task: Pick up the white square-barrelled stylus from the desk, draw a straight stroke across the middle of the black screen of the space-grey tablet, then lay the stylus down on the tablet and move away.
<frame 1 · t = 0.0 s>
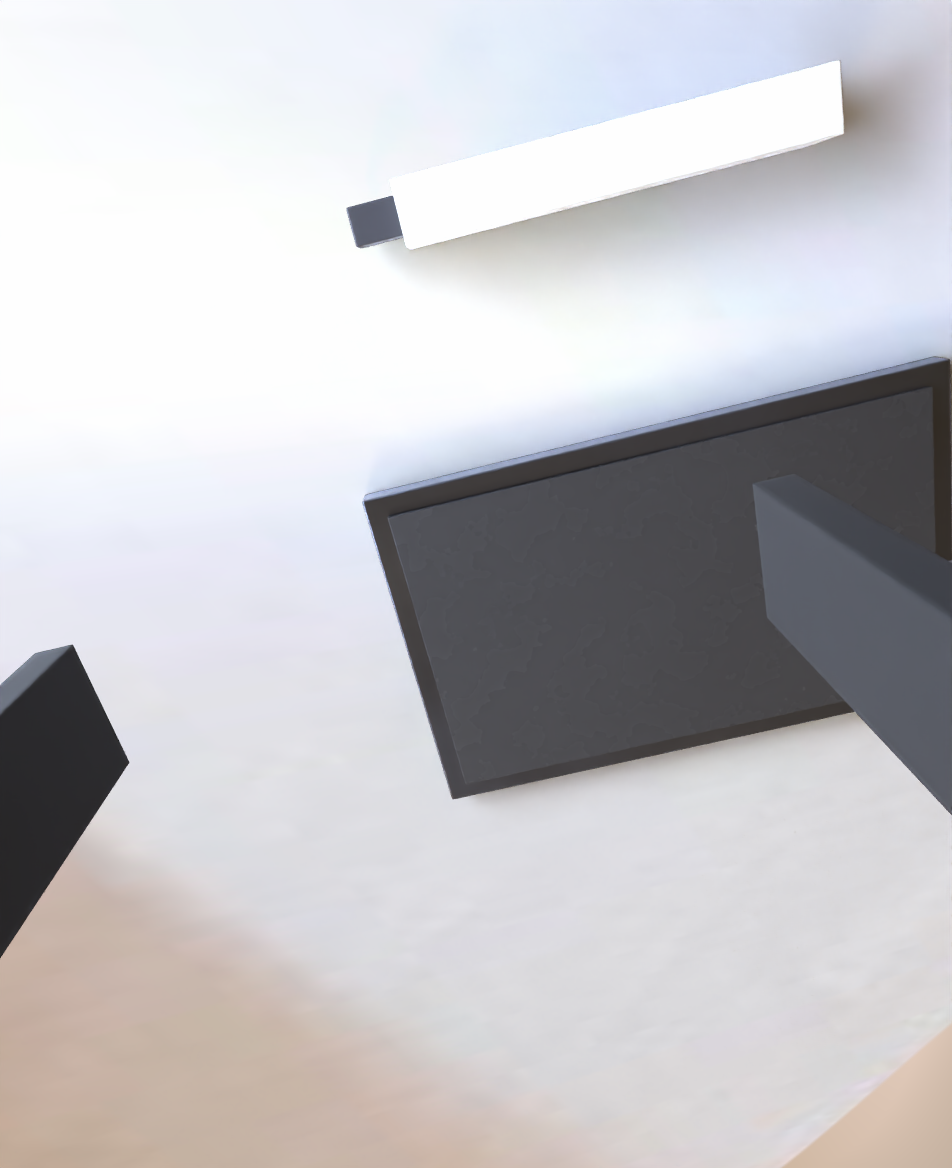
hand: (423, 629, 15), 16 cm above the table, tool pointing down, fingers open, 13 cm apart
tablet: (669, 592, 32), on the table
stylus: (602, 166, 26), on the table
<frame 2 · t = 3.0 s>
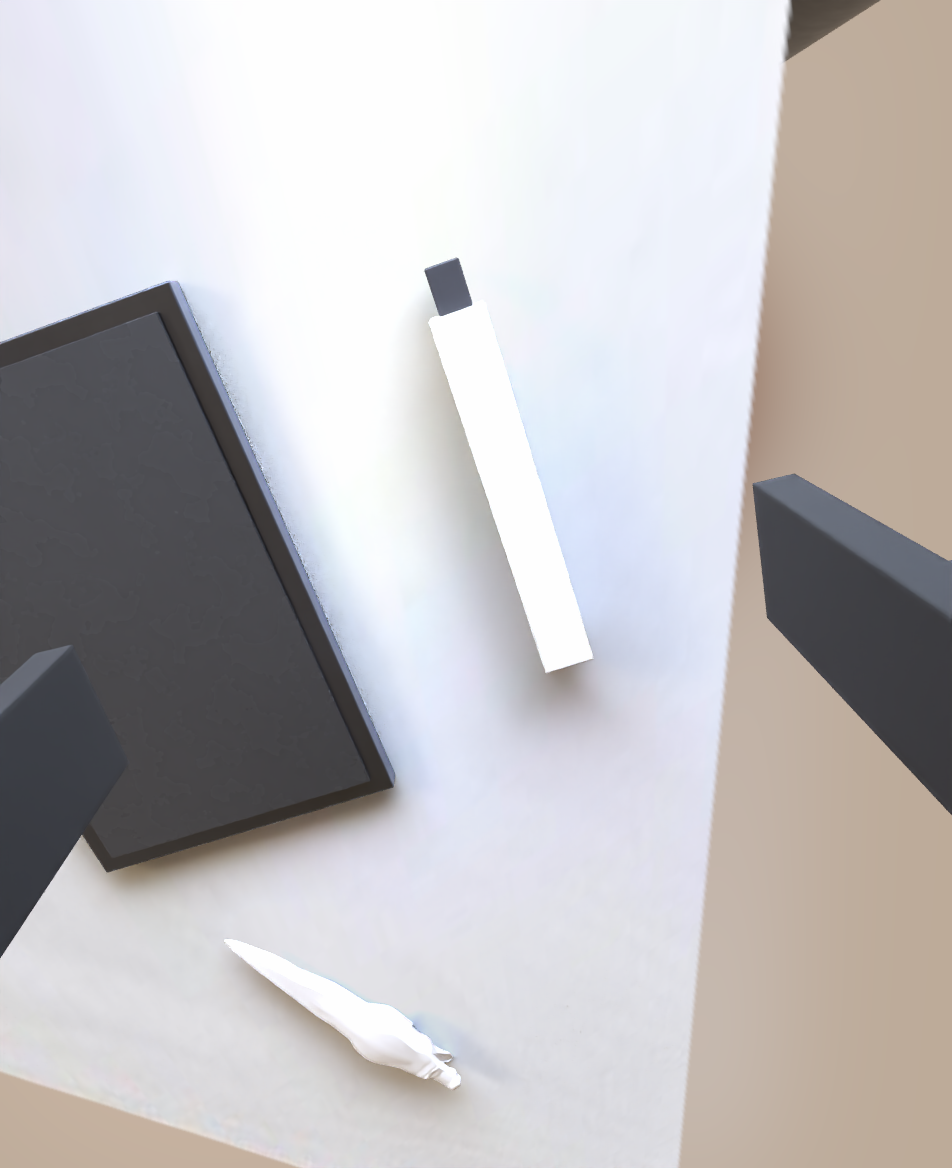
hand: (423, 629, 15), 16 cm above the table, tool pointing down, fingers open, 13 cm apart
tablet: (142, 610, 32), on the table
white tapered piece: (349, 993, 40), on the table
stylus: (513, 488, 31), on the table
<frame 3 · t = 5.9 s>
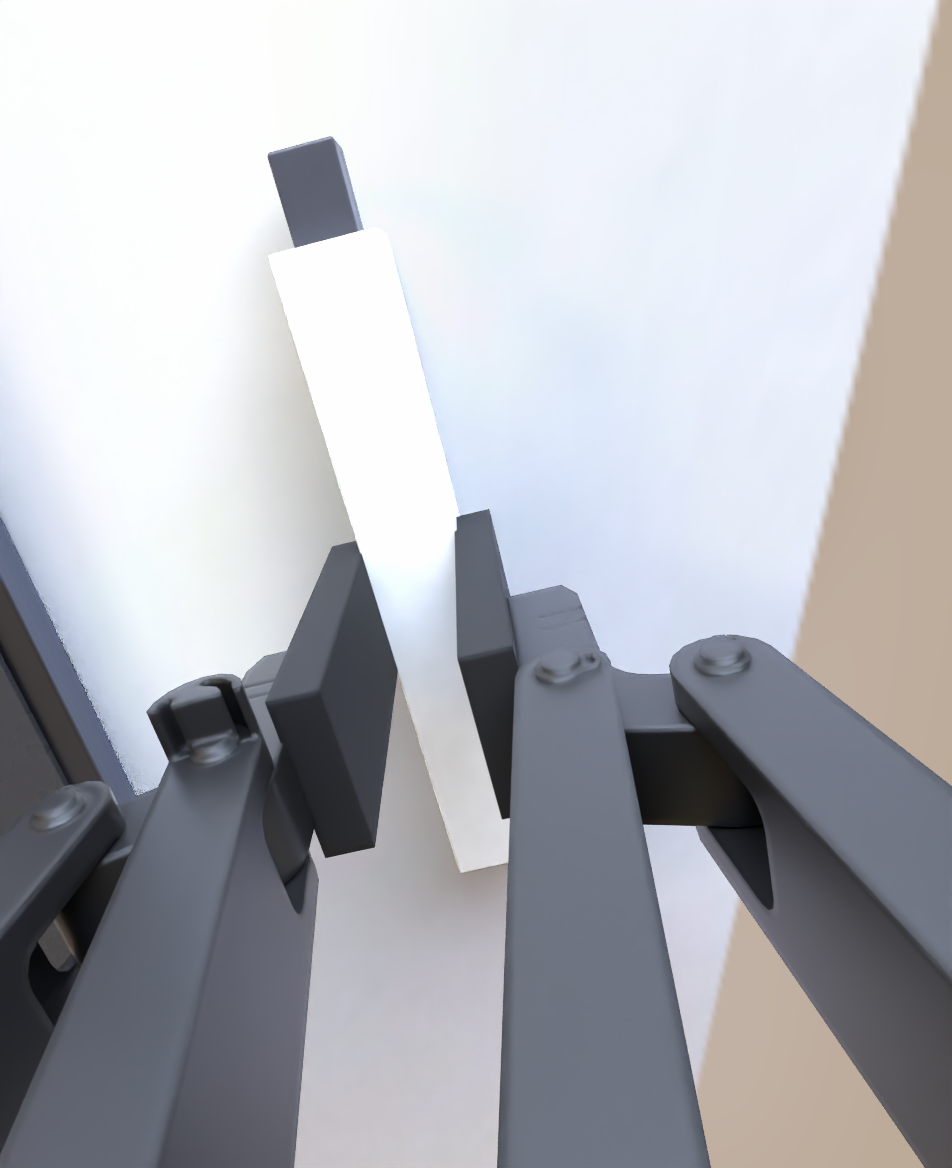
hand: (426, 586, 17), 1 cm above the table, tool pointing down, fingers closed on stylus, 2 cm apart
stylus: (428, 563, 18), on the table, touching gripper
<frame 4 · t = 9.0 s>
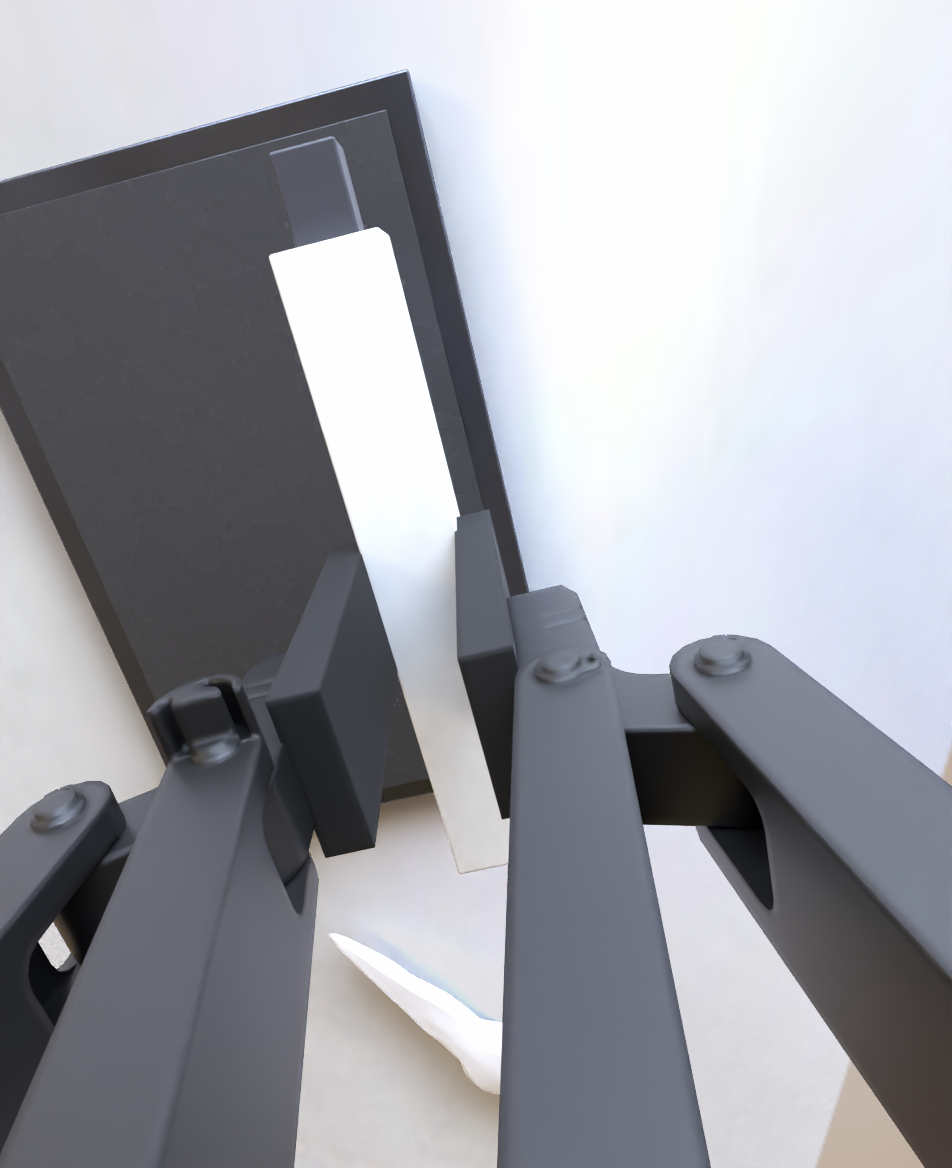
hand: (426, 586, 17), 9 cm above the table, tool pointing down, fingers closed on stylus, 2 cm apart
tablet: (291, 516, 25), on the table
white tapered piece: (459, 1006, 34), on the table
stylus: (428, 563, 18), point 8 cm above the table, touching gripper
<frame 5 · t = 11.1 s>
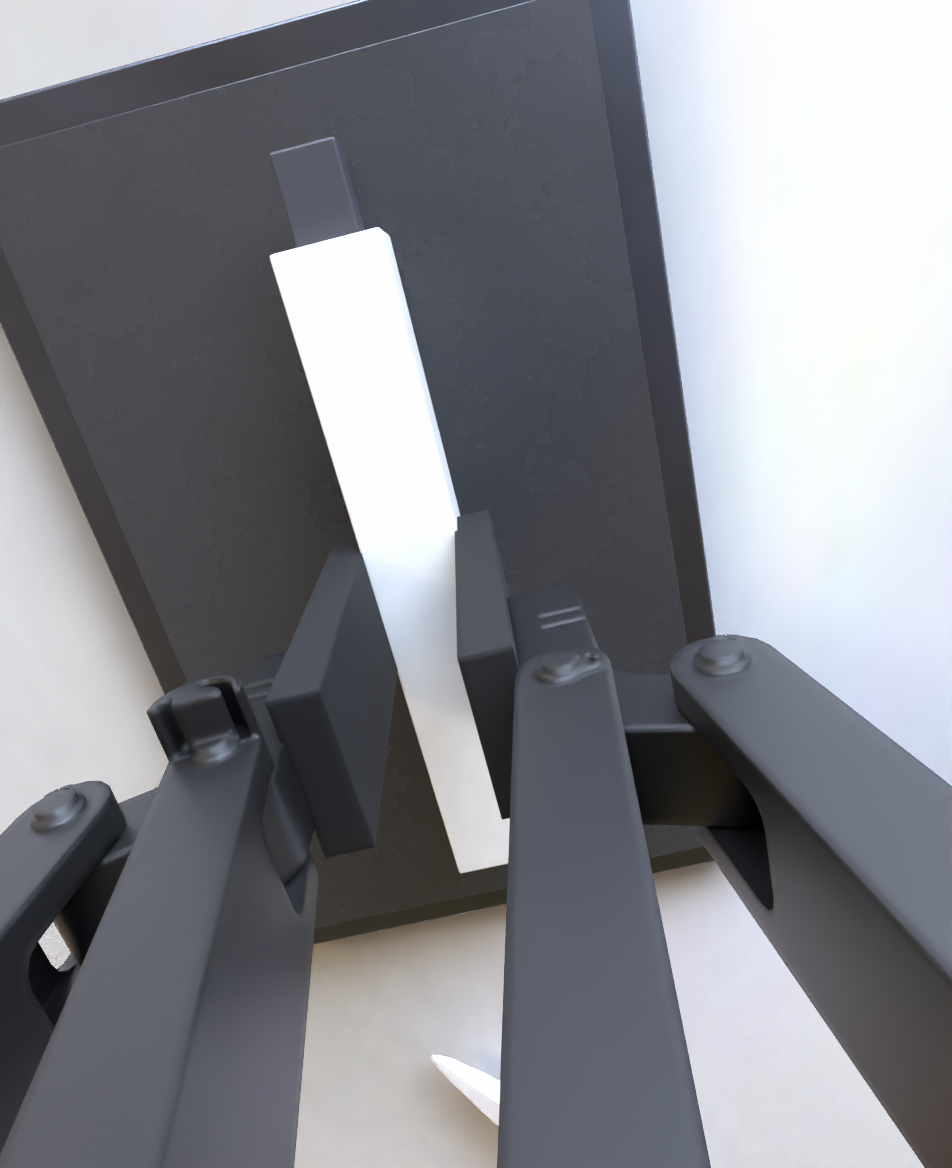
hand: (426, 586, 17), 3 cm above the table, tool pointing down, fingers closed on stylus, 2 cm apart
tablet: (410, 546, 20), on the table
white tapered piece: (577, 1129, 28), on the table
stylus: (428, 563, 18), point 1 cm above the table, touching gripper
when the fingers open (3 cm above the table, at t = 12.3 s): stylus stays where it is, resting on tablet.
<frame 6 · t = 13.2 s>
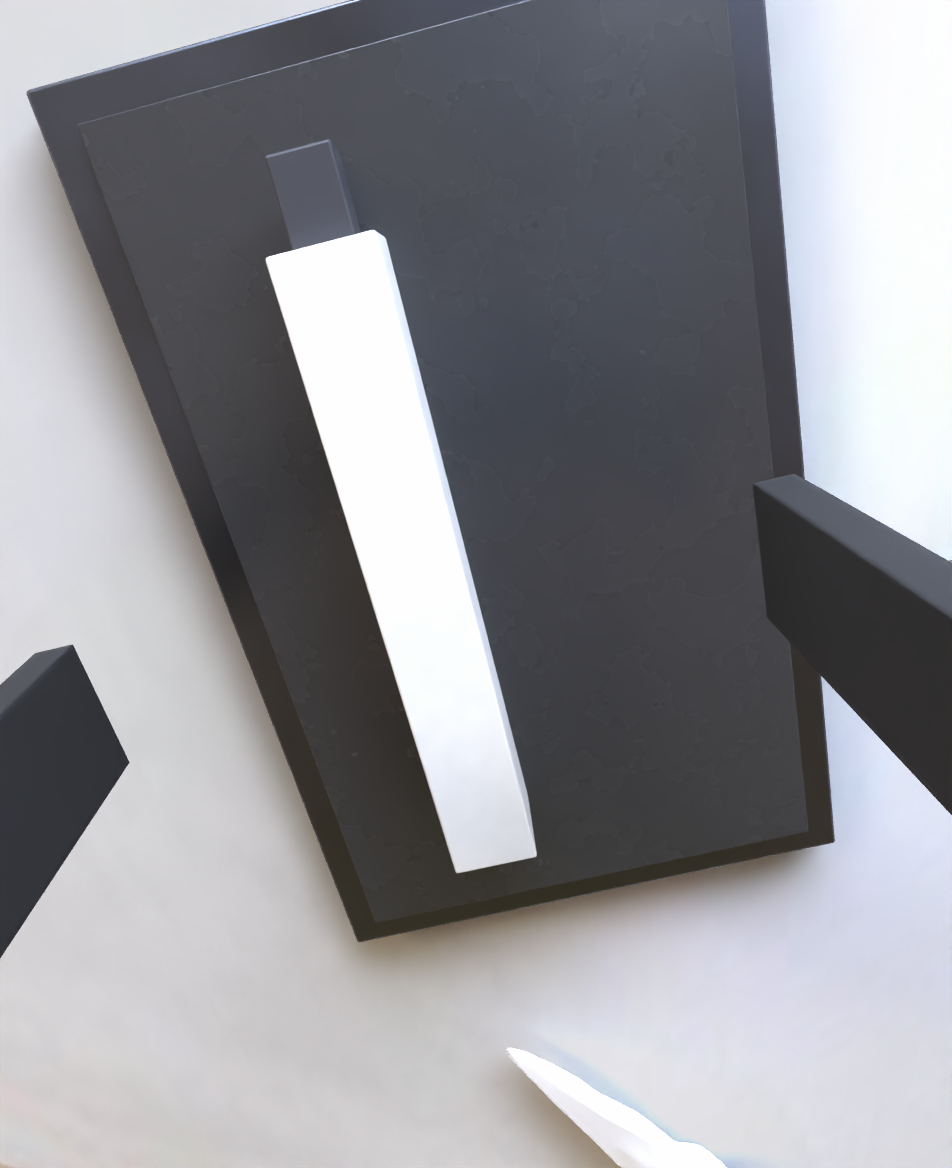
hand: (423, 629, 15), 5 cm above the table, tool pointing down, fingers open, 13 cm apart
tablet: (506, 528, 19), on the table
white tapered piece: (646, 1124, 28), on the table
stylus: (425, 564, 18), point 1 cm above the table, touching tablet
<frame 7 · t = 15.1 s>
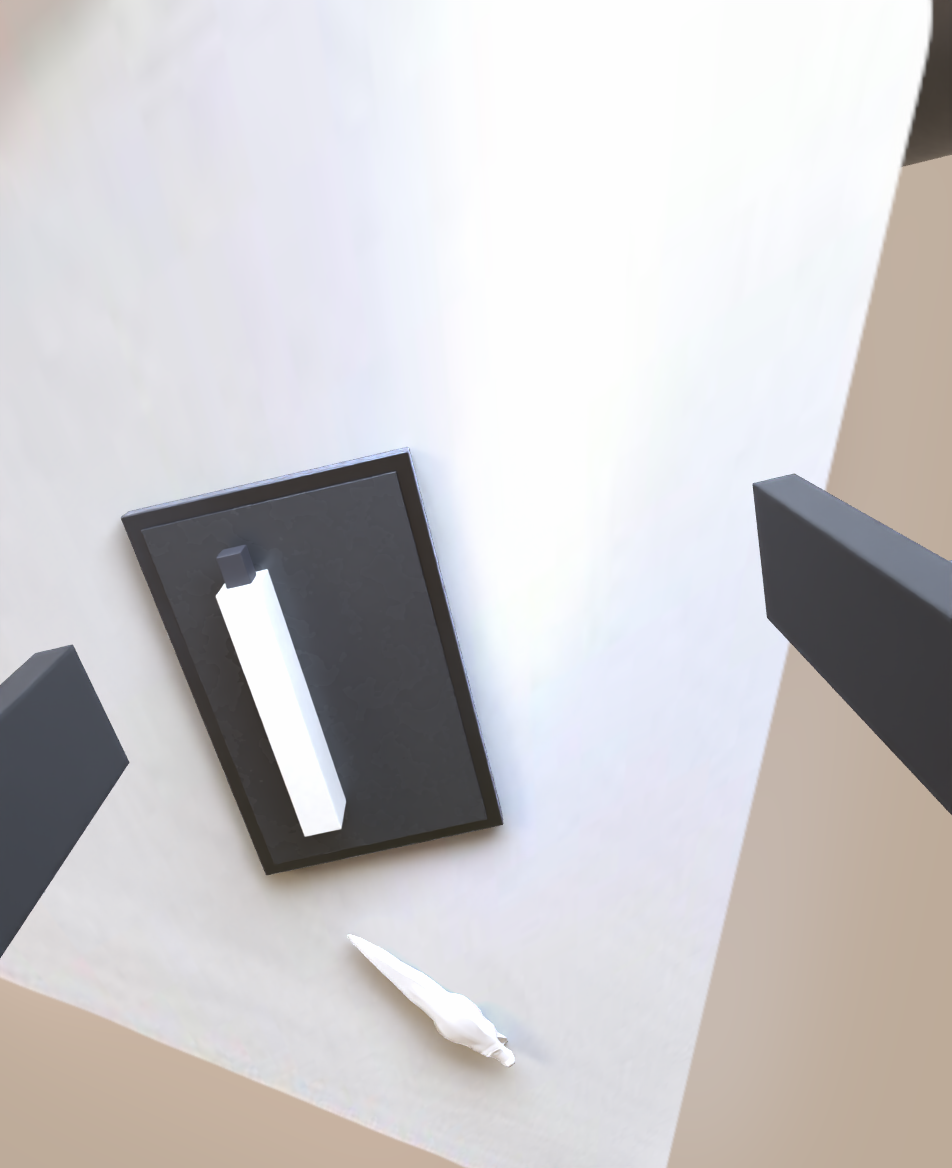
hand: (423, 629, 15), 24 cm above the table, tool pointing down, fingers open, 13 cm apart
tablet: (331, 676, 41), on the table
white tapered piece: (433, 984, 50), on the table
stylus: (290, 696, 40), point 1 cm above the table, touching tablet
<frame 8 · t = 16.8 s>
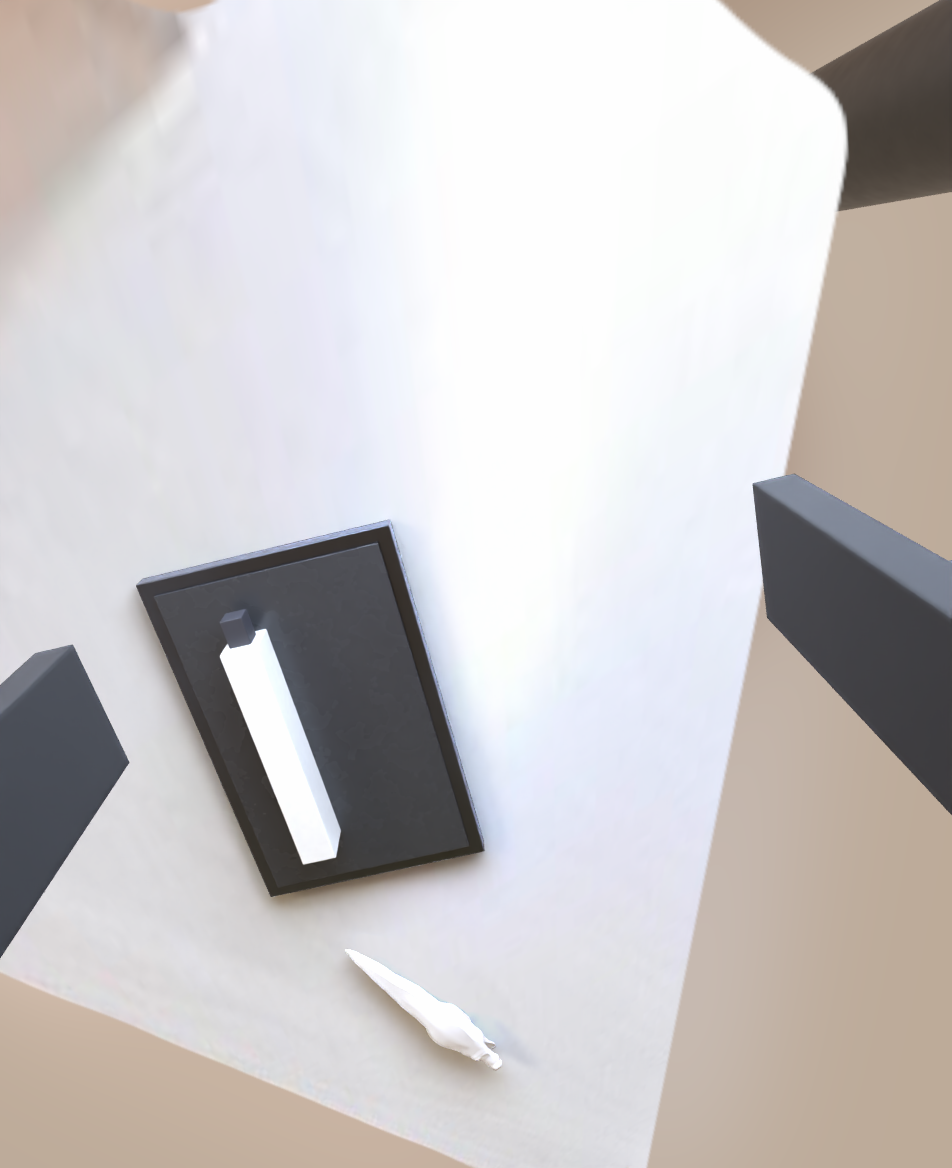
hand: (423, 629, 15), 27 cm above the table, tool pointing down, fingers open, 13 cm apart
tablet: (326, 720, 46), on the table
white tapered piece: (425, 994, 55), on the table
stylus: (289, 739, 45), point 1 cm above the table, touching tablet
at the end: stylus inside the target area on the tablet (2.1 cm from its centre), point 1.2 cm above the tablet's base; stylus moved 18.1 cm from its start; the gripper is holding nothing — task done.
